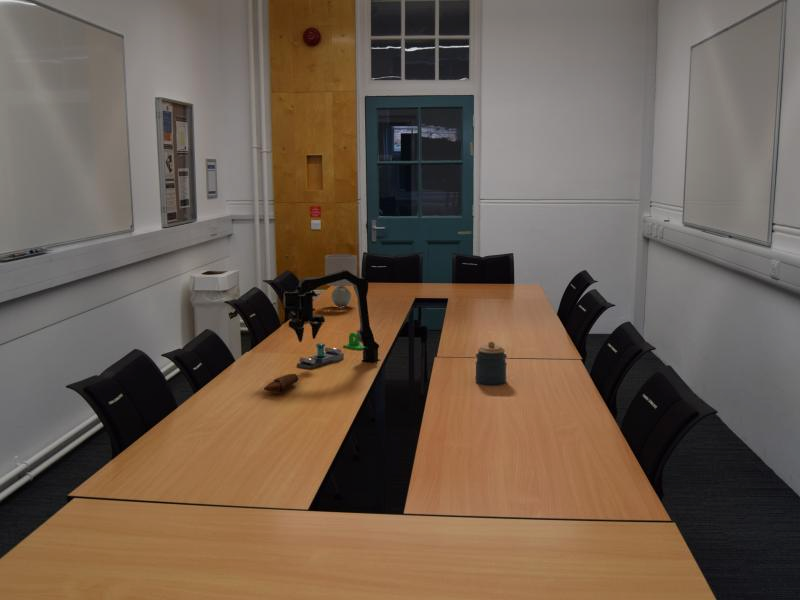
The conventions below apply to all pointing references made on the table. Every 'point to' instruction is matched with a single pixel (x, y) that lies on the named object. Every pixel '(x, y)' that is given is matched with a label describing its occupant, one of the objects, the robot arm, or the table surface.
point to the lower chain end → (311, 363)
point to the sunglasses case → (281, 383)
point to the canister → (491, 365)
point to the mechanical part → (354, 342)
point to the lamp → (341, 293)
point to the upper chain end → (329, 355)
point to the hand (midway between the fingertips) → (307, 340)
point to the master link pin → (320, 350)
